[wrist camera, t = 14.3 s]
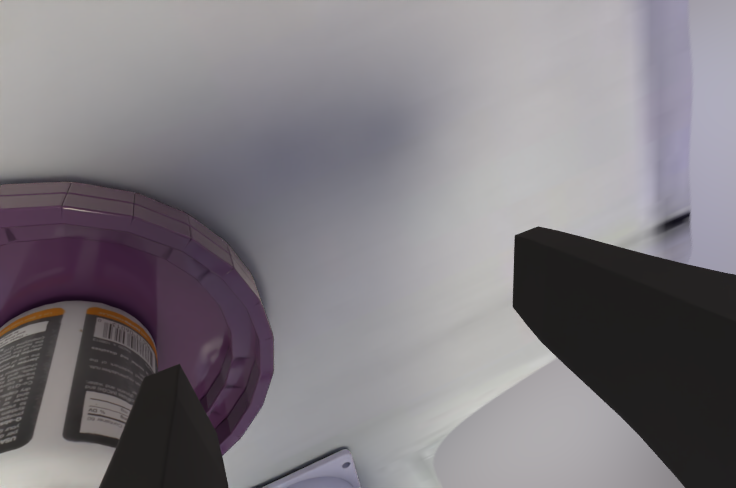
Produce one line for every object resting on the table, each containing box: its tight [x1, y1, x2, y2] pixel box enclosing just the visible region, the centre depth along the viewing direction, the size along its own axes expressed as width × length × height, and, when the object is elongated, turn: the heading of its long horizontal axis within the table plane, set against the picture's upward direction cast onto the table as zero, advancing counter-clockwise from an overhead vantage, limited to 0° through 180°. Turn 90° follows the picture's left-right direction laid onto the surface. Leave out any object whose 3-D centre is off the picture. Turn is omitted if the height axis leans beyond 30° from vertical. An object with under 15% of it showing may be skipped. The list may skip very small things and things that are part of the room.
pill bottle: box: [0, 301, 158, 488], centre depth 14 cm, size 6×6×10 cm
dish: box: [0, 182, 274, 456], centre depth 17 cm, size 14×14×3 cm
